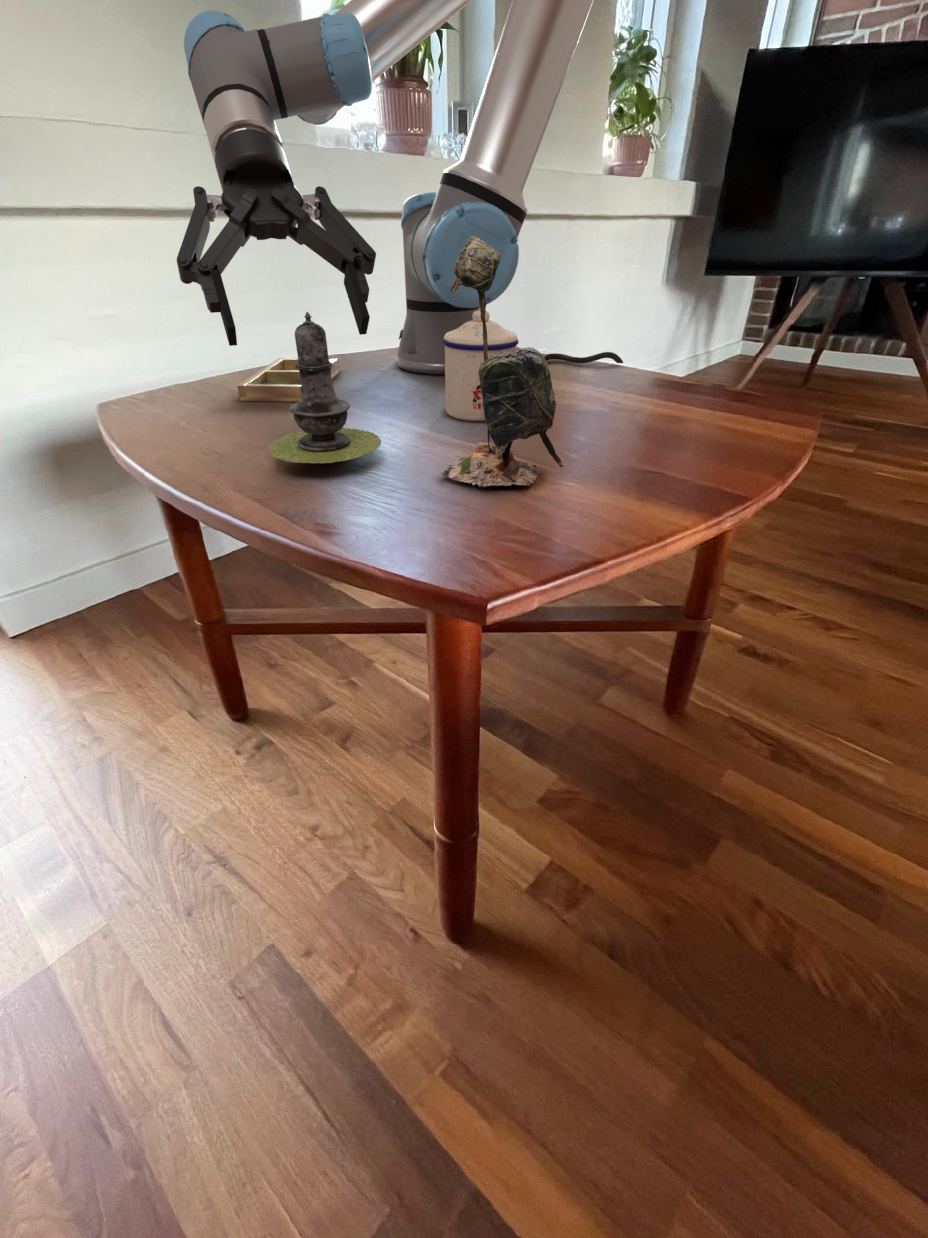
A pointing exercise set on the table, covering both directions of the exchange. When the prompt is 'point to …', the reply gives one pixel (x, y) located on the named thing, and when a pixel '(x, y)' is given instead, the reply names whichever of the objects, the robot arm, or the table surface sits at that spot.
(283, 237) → the robot arm
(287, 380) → the wooden divided tray
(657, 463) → the table surface
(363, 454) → the mat
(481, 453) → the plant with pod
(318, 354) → the salt shaker
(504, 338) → the teacup with lid
